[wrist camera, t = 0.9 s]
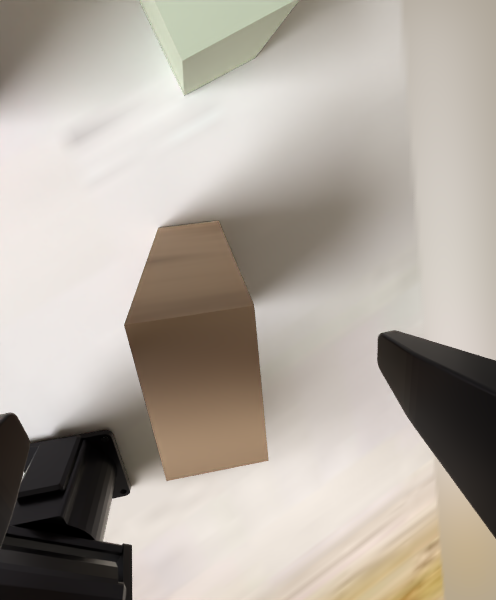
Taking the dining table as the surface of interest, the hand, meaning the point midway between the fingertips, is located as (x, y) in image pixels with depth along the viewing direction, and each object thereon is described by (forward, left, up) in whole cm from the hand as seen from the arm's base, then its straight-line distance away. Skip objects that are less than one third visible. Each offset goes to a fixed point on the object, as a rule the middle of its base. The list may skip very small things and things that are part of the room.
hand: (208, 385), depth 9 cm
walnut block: (-2, 0, -14) cm, 14 cm away
